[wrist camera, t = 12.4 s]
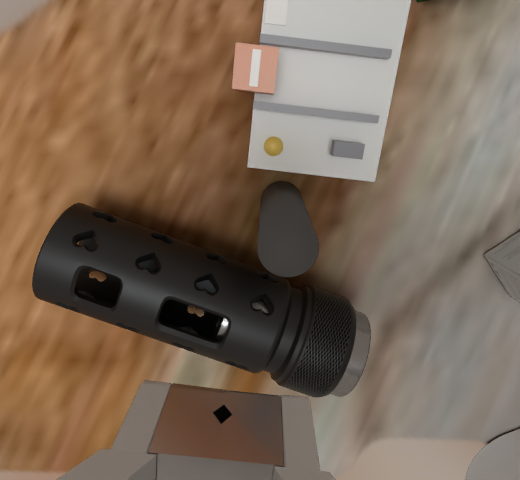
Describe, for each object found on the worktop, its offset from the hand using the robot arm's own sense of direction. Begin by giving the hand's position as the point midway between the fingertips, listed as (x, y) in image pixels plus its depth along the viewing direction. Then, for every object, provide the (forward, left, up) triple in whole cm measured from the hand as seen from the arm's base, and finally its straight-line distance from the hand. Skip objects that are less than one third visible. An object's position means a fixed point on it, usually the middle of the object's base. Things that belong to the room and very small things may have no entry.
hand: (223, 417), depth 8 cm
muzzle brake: (+3, +12, -34) cm, 36 cm away
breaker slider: (+1, -8, -29) cm, 30 cm away
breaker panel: (-5, -7, -33) cm, 34 cm away
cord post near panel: (-3, +3, -33) cm, 33 cm away
